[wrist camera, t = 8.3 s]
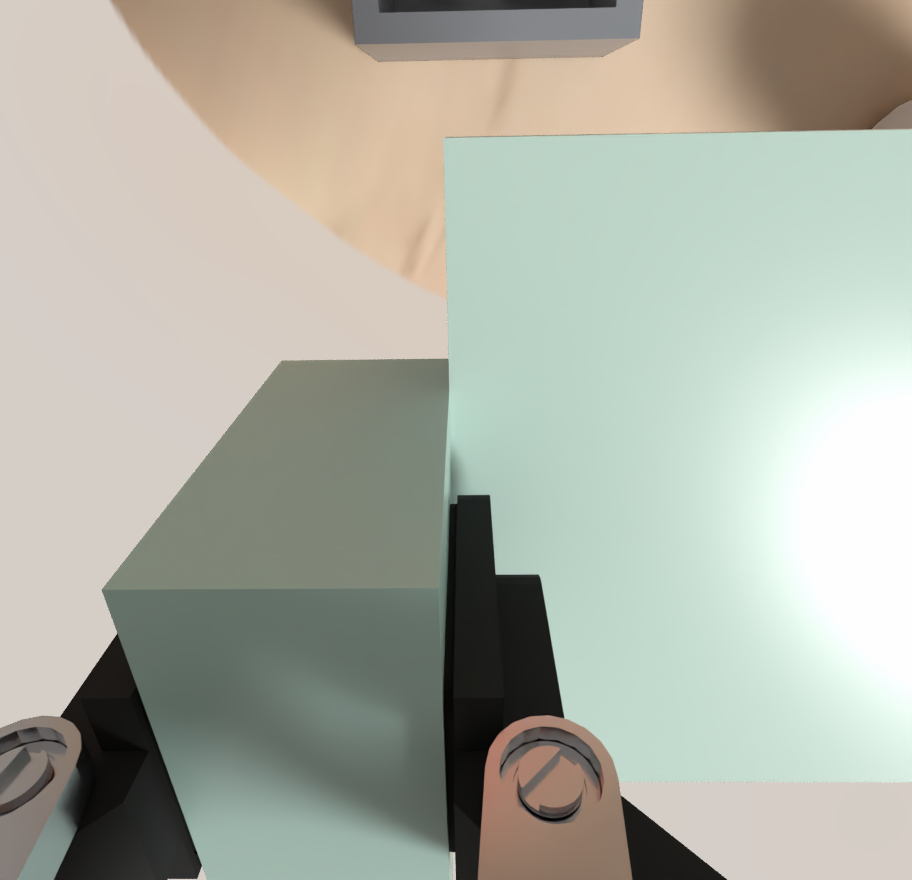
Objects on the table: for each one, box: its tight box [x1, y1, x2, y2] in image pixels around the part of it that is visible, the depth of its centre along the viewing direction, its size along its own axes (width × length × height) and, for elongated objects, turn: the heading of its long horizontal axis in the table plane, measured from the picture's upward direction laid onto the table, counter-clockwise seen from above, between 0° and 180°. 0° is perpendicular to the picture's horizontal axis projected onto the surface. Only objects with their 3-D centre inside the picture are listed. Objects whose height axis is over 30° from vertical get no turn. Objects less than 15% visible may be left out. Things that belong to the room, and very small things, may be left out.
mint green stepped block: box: [102, 129, 912, 880], centre depth 10 cm, size 13×16×7 cm
